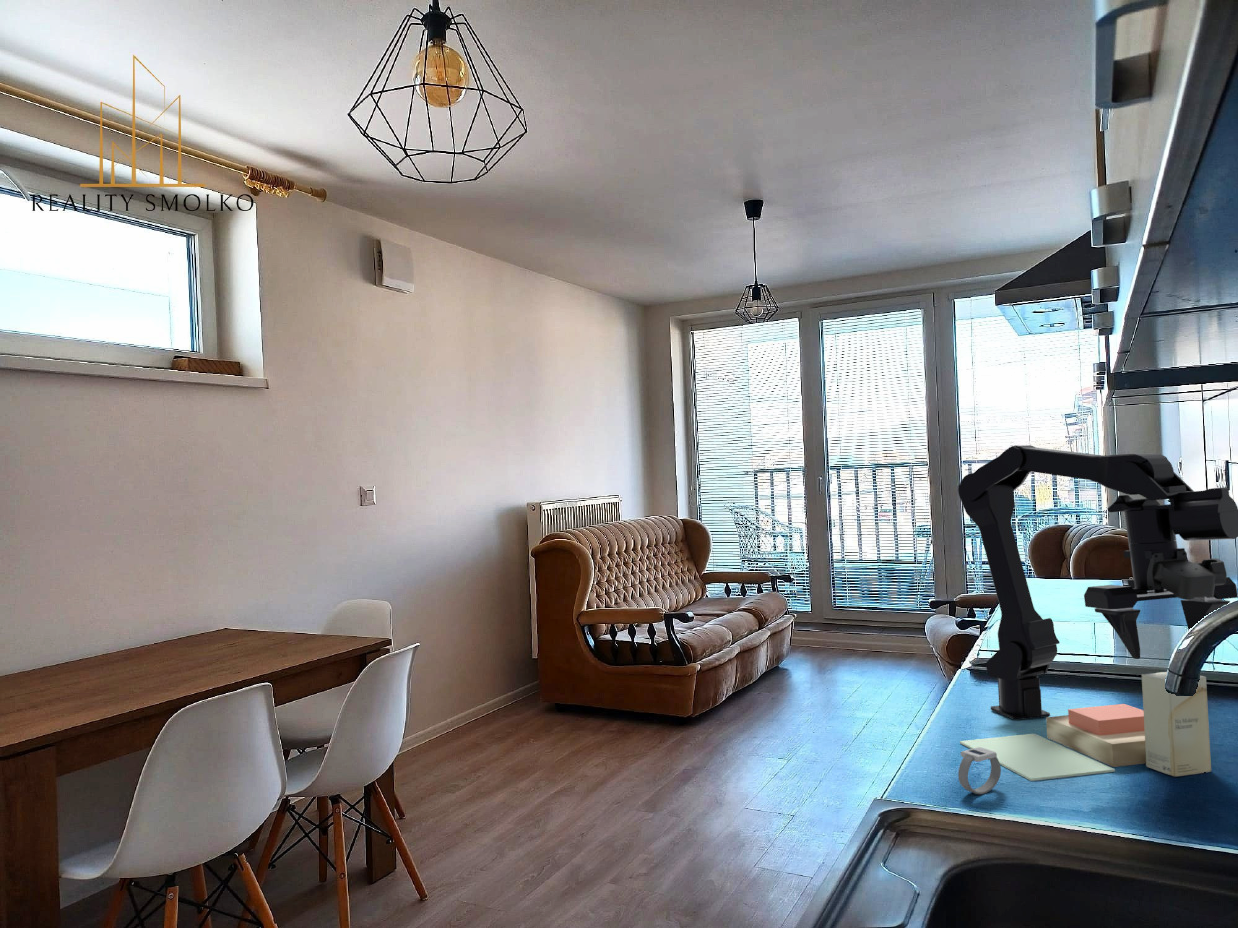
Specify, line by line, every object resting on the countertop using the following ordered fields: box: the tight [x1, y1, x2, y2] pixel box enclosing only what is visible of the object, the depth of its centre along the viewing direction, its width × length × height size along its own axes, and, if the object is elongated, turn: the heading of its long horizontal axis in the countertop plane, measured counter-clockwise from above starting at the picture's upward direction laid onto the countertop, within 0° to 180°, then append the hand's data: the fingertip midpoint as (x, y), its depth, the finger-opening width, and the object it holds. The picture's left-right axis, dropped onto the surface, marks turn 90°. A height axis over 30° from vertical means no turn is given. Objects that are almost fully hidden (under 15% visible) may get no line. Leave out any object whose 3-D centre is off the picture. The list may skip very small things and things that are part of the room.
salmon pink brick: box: [1067, 703, 1145, 736], centre depth 119 cm, size 9×6×2 cm, turn 100°
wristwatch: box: [957, 747, 1002, 795], centre depth 105 cm, size 6×3×5 cm, turn 117°
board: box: [1045, 714, 1146, 768], centre depth 119 cm, size 13×11×3 cm
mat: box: [959, 733, 1116, 782], centre depth 116 cm, size 16×12×1 cm
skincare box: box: [1141, 671, 1212, 777], centre depth 110 cm, size 6×4×12 cm
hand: (1168, 655), depth 117 cm, fingers open, 9 cm apart
